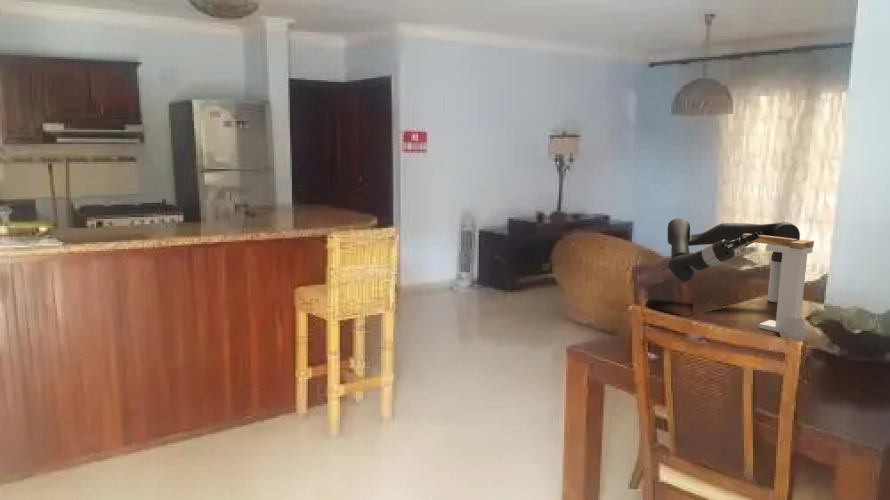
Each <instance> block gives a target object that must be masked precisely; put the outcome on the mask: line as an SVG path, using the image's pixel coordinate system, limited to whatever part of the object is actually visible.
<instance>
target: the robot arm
mask: <svg viewBox="0 0 890 500" xmlns="http://www.w3.org/2000/svg"><path fill="white" fill-rule="evenodd" d="M746 233H747V234H752V235H749V236H747V237H743V234H746ZM759 235H765V236H774V237H783V238H792V239H798V240H801V239H800V237H801V233H800V230H799V228H798V227H797V226H796V225H795V224H793V223H790V222H788V221H781V222H772V223H764V224H761V223H760V224H758V223H757V224H756V223H745V222H743V223H742V222H741V223H740V222H725V223H724V222H723V223H719V224H717V225H715V226H713V227H711V228H710V229H708V230H707V231H704V232H702V233H696V234H691V225H690V222H689V221H688V220H686V219H684V218H674V219H672V220H670V221H669V222H668V224H667V243H668V244H669V246H671V247H670V249H671V252H670V255H671V256H670V257H671V259H670V260H669V261H668V265H667V268H668V269H669V271H670V272H671V273H672V274H673V275H674V276H675V277H676V278H677V280H678V281H680V282H683V283H684V282H685V283H686V282H689V281H691V280H692V279H693V277H694V276H695V270H696V271H703V270H706V269H707V268H710V267H712V266H717V265H718V264H722V263H723V262H726V261H728V260H731V259H733V258H734V257H735V252H738V251H740V250H742V249H743V248H746V247H749V246H750V245H752V244H755V242H751V241H754V240H756V239H758V238H759ZM742 237H743V238H742ZM704 245H707V247H704V248H703V249H702V250H701V249H700V250H698V251H696V252H694V253H690V248H689V247H691V246H704ZM708 245H709V246H708ZM770 259H771V261H770V268H769V270H770V271H769V278H768V279H769V280H768V281H769V282H768V290H767V291H768V292H767V301H768V302H772V303H775V304H778V293H779V283H780V273H781V262H782V253H781V252H773V251H772V253H771V258H770Z"/></svg>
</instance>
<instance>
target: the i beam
mask: <svg viewBox="0 0 890 500" xmlns="http://www.w3.org/2000/svg"><path fill="white" fill-rule="evenodd" d="M765 246H766V247H765V251H767V252H772V253H773V252H781V253H782V262H781V273H780V283H779V293H778V303H776V304H777V307H776V317H775V320H772V319H768V320H765V321H763V322H761V323H758V329H763V330H768V331H770V332H771V331H772V332H776V333H779V328H780V326H781V324H782V322H783V320H784V318H785V317H790V318H799V319H802V309H803V300H804V289H805V280H806V273H807V272H806V271H807V270H806V269H807V261H808V254H812V253H813V248H814V246H813V247H810V248H806V249H795V248H790V246H781V245H773V244H766V245H765Z"/></svg>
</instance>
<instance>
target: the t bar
mask: <svg viewBox="0 0 890 500" xmlns="http://www.w3.org/2000/svg"><path fill="white" fill-rule="evenodd" d="M749 235H752V234H747V233H746V234H743V237H747V236H749ZM743 237H742V238H743ZM751 242H754V243H757V244H766V245H769V244H773V245H781V246H790V248H795V249H806V248H810V247H813V248H814V244H815V240H808V239H800V240H798V239H792V238H783V237H774V236H765V235H759V238H758V239H756V240H754V241H751Z"/></svg>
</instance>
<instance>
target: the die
mask: <svg viewBox="0 0 890 500" xmlns="http://www.w3.org/2000/svg"><path fill="white" fill-rule="evenodd" d="M778 333H779V335H780V338H781V337H788V338H794V339H798V340H802V341H803V342H804V340H805V338H806V337H807V336H808V333H809V329H808V327H807V325H806V323H805V320H804V319H803V318H801V319H799V318H790V317H785V318H784V320H783V322H782V324H781V326H780V328H779V332H778Z"/></svg>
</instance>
